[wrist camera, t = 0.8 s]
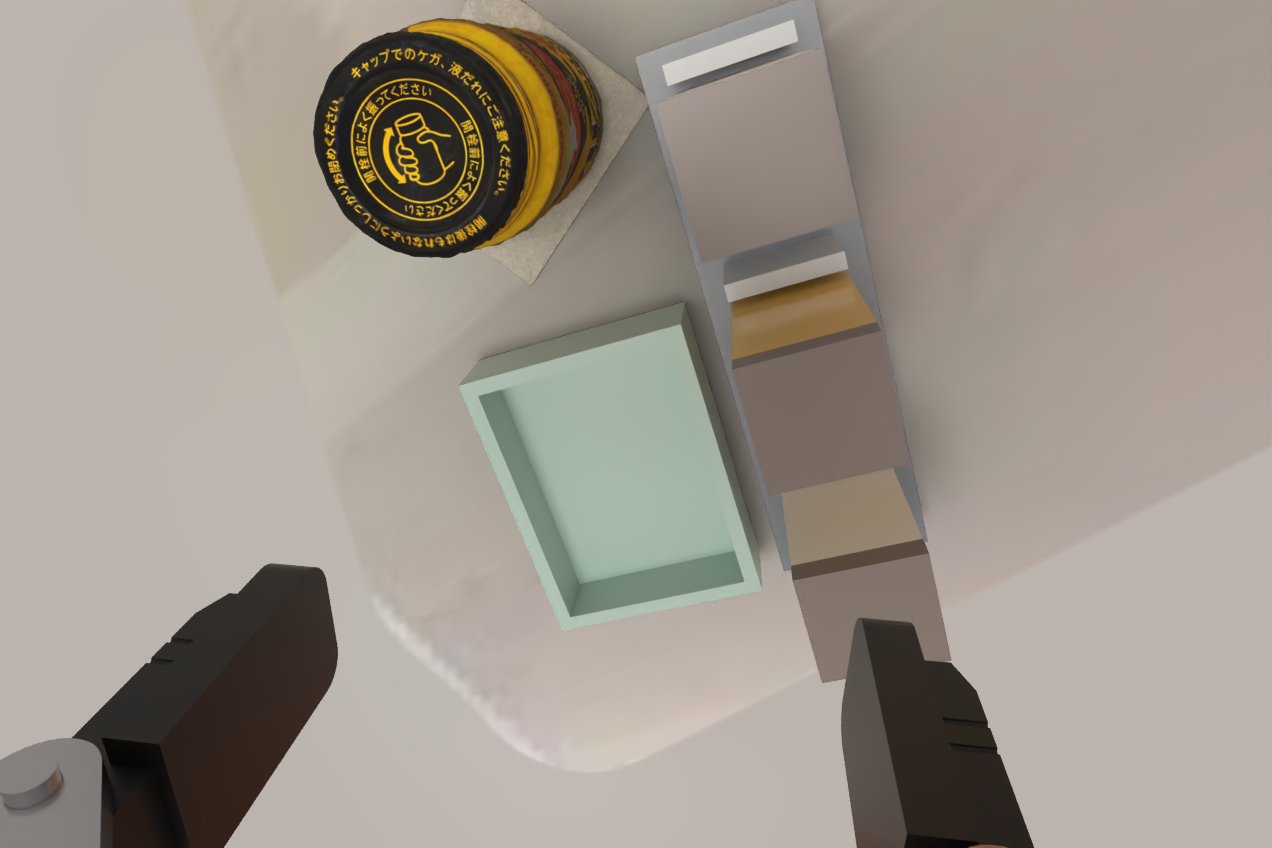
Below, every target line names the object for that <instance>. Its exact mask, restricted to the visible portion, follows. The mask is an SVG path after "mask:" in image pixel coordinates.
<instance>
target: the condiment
mask: <svg viewBox="0 0 1272 848" xmlns="http://www.w3.org/2000/svg"><path fill="white" fill-rule="evenodd" d="M647 107H648V102H647V98H646V95H645V94H644V93H643V92H641V91H640V90H639V89H637V88H636V87H635V86H633V85H632V84H631V83H630V82H628V81H627V80H626V79H625V78H623V77H622V76H620V75H619V74H618V73H616V72H615V71H614V70H612V69H611V68H610V67H609V66H607V65H606V64H605V63H603V62H602V61H601V60H599V59H598V58H597V57H595V56H594V55H593V54H591V53H590V52H589V51H588V50H586V49H585V48H584V47H582V46H581V45H580V44H578V43H577V42H576V41H574V40H573V39H572V38H570V37H569V36H568V35H566V34H565V33H564V32H562V31H561V30H560V29H558V28H557V27H556V26H554V25H553V24H552V23H550V22H549V21H548V20H546V19H545V18H544V17H542V16H541V15H540V14H538V13H537V12H536V11H534V10H533V9H532V8H530V7H529V6H528V5H526V4H525V3H524V2H522V1H521V0H466V2H465V4H464V6H463V8H462V10H461V12H460V14H459V16H458V18H457V19H443V18H438V19H434V20H429V21H422V22H419V23H417V24H413V25H410V26H408V27H406V28H403V29H401V30H399V31H398V32H394V33H386V34H384V35H381V36H378V37H376V38H373V39H372V40H370V41H368V42H365V43H362V44H361V45H360V46H358V47H357V48H356V49H355V50H353V51H352V52H350V54H349V55H348V56H347V57H345V59H344V60H343V61H342V62H341V63H340V64H338V65H337V66H336V67H335V68H334V69H333V71H332V72H331V74H330V75H329V77H328V79H327V81H326V84H325V87H324V90H323V93H322V95H321V97H320V99H319V102H318V106H317V109H316V113H315V121H314V131H313V135H314V146H315V153H316V156H317V159H318V162H319V165H320V167H321V169H322V172H323V174H324V177H325V180H326V183H327V185H328V187H329V189H330V191H331V192H332V194H333V196H334V197H335V199H336V201H337V203H338V205H339V207H340V208H341V210H342V212H343V213H344V215H345V216H346V217H347V218H348V219H349V220H350V221H351V222H353V224H354V225H355V226H357V227H358V228H359V229H360V230H361V231H362V232H363V233H365V234H366V235H368V236H369V237H371V238H373V239H374V240H375V241H377V242H378V243H379V244H381V245H383V246H385V247H387V248H389V249H391V250H394V251H396V252H401V253H404V254H407V255H410V256H413V257H431V258H432V257H441V258H450V257H454V256H455V255H457V254H459V253H466V252H469V251H473V250H476V249H481V250H482V251H484V252H485V253H486V254H488V255H489V256H491V257H492V258H494V259H495V260H497V261H498V262H500V263H501V264H503V265H504V266H506V267H507V268H508V269H509V270H511V271H512V272H514V273H515V274H516V275H518V276H519V277H521V278H522V279H524V280H525V281H527V282H528V283H529V284H531V285H532V284H533V282H534V281H535V279H536V278H537V276H538V275H539V273H540V272H541V270H542V269H543V267H544V265H545V264H546V262H547V261H548V259H549V258H550V256H551V255H552V253H553V252H554V250H555V248H556V247H557V245H558V244H559V242H560V241H561V239H562V237H563V236H564V234H565V233H566V231H567V230H568V229H569V227H570V225H571V224H572V222H573V221H574V219H575V218H576V216H577V215H578V213H579V212H580V210H581V209H582V207H583V206H584V204H585V202H586V201H587V199H588V198H589V196H590V195H591V193H592V192H593V190H594V189H595V187H596V186H597V184H598V183H599V181H600V179H601V178H602V176H603V175H604V173H605V172H606V170H607V169H608V167H609V166H610V164H611V163H612V161H613V159H614V158H615V156H616V155H617V153H618V152H619V150H620V149H621V147H622V146H623V144H624V143H625V141H626V139H627V138H628V136H629V135H630V133H631V132H632V130H633V129H634V127H635V126H636V124H637V123H638V121H639V119H640V118H641V116H642V115H643V113H644V112H645V110H646V109H647Z"/></svg>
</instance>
